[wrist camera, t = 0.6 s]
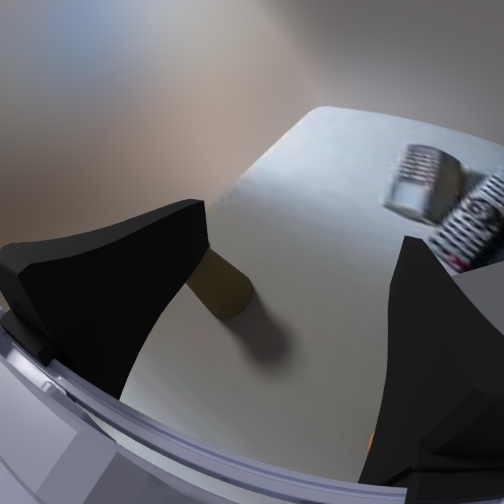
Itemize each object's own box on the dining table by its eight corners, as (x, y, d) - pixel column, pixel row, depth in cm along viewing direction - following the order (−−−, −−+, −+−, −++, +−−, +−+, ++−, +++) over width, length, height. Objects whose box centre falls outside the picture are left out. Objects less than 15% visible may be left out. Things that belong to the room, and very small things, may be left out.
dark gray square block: (513, 355, 18) (546, 326, 12) (438, 379, 20) (454, 359, 15) (498, 297, 21) (521, 255, 16) (427, 318, 24) (436, 280, 18)
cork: (221, 328, 33) (159, 281, 25) (199, 295, 37) (142, 246, 29) (262, 293, 34) (211, 234, 26) (235, 263, 38) (186, 206, 30)
